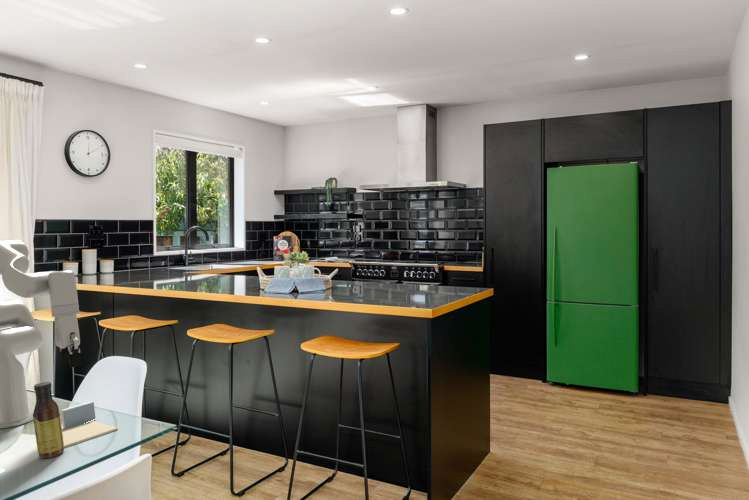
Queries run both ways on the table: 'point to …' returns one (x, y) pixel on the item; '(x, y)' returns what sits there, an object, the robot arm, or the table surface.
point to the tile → (78, 415)
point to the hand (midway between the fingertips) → (71, 364)
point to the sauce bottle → (47, 422)
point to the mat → (85, 432)
